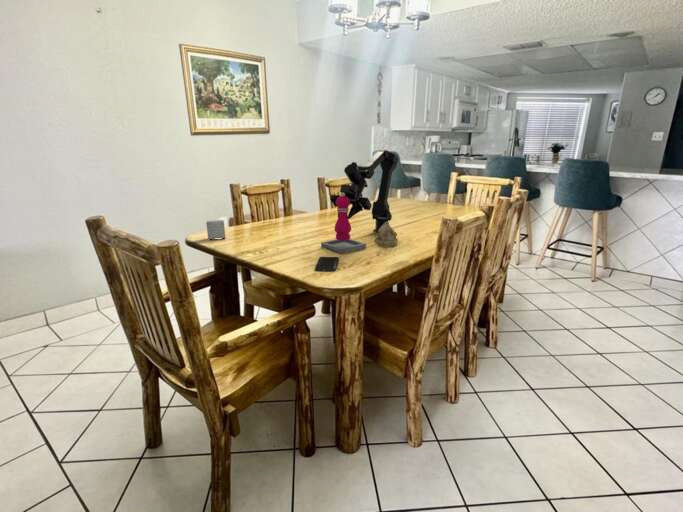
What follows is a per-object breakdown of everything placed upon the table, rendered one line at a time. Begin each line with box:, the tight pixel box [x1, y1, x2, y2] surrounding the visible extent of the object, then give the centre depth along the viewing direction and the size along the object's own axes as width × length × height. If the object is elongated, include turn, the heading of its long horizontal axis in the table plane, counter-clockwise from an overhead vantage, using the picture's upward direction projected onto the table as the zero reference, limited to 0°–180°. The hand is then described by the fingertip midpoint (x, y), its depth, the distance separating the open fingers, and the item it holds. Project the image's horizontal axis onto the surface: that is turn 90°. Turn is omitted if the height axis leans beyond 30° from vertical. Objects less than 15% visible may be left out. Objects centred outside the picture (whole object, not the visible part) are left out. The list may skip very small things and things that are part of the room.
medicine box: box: [205, 219, 226, 240], centre depth 173 cm, size 8×4×9 cm, turn 108°
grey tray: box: [320, 238, 367, 255], centre depth 158 cm, size 14×14×2 cm
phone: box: [314, 256, 340, 273], centre depth 137 cm, size 8×1×15 cm
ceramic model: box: [374, 221, 399, 248], centre depth 166 cm, size 14×11×10 cm
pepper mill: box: [334, 192, 352, 240], centre depth 155 cm, size 7×7×20 cm
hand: (343, 217), depth 155 cm, fingers closed on pepper mill, 5 cm apart
